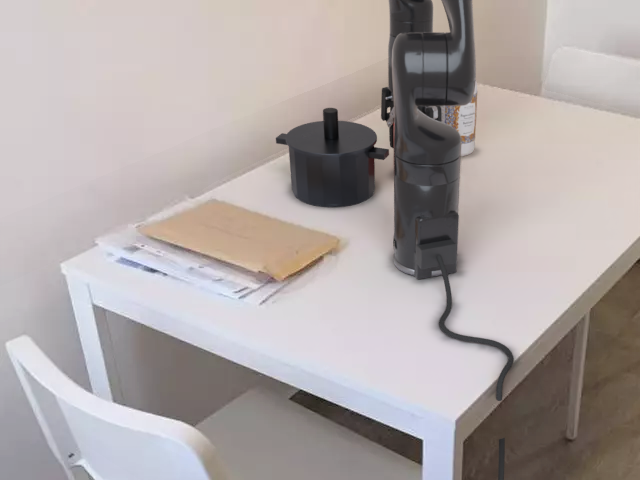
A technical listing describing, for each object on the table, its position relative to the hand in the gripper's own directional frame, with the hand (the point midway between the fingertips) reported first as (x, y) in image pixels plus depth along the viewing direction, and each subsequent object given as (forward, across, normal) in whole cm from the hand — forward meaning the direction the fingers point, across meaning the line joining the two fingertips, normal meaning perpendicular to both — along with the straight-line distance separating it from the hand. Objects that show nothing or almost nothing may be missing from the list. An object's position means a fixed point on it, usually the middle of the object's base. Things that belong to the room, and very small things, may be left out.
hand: (410, 154), depth 154 cm
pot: (+4, -3, -14) cm, 15 cm away
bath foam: (+4, -5, +14) cm, 16 cm away
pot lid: (-5, -3, -14) cm, 15 cm away
